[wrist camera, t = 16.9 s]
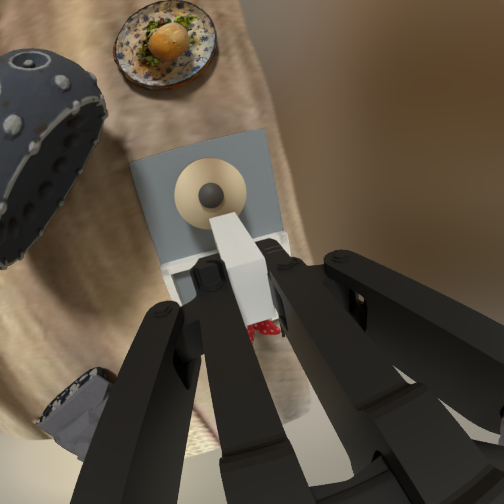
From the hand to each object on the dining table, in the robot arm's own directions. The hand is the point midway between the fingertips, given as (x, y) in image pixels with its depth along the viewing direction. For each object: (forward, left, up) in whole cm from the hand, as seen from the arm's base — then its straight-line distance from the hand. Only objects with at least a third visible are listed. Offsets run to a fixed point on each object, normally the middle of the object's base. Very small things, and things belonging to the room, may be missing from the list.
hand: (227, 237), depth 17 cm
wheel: (0, 0, -15) cm, 15 cm away
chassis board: (0, -8, -19) cm, 21 cm away
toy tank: (-31, -33, -20) cm, 50 cm away
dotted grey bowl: (-17, +10, -19) cm, 28 cm away
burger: (-1, +18, -20) cm, 27 cm away
